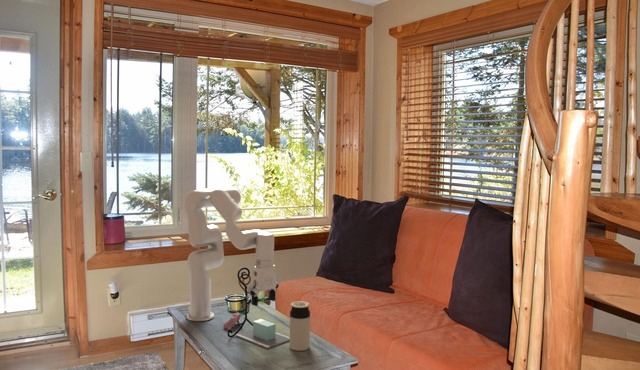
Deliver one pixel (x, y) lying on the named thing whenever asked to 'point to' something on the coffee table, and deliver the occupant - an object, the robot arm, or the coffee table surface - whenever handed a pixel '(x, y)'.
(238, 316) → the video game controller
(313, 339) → the coffee table surface
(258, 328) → the card deck block
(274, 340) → the mat
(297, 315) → the travel mug
